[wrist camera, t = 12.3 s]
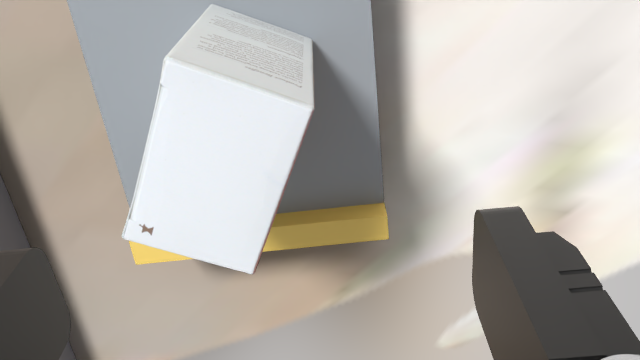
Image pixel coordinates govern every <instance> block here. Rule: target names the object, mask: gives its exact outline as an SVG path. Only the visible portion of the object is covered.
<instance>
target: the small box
mask: <svg viewBox="0 0 640 360" xmlns="http://www.w3.org/2000/svg"><path fill="white" fill-rule="evenodd" d="M312 45H313V41H312V39H310V38H308V37H305V36H302V35H299V34H297V33H294V32H291V31H289V30H286V29H283V28H280V27H278V26H275V25H272V24H269V23H266V22H263V21H260V20H258V19H255V18H252V17H249V16H246V15H243V14H241V13H238V12H235V11H232V10H229V9H226V8H223V7H220V6H217V5H214V4H211V5H210V6H209V7H208V8H207V9H206V10H205V12H204V13H203V14H202V15H201V16H200V17H199V19H198V20H197V21H196V22H195V23H194V24H193V25H192V26H191V28H190V29H189V30H188V31H187V32H186V33H185V34H184V36H183V37H182V38H181V39H180V40H179V42H178V43H177V44H176V45H175V46H174V47H173V48H172V49H171V51H170V52H169V53H168V54H167V55H166V56H165V58H164V60H163V66H162V72H161V78H160V84H159V89H158V94H157V99H156V103H155V108H154V112H153V117H152V121H151V125H150V129H149V133H148V137H147V142H146V146H145V150H144V155H143V159H142V163H141V167H140V171H139V175H138V179H137V183H136V188H135V192H134V196H133V200H132V203H131V207H130V210H129V214H128V217H127V220H126V224H125V227H124V230H123V233H122V238H123V239H126V240H129V241H132V242H136V243H140V244H143V245H146V246H150V247H154V248H157V249H161V250H164V251H168V252H172V253H175V254H179V255H183V256H186V257H190V258H193V259H197V260H201V261H204V262H208V263H211V264H215V265H219V266H222V267H226V268H230V269H233V270H237V271H242V272H245V273H248V274H254V273H255V271H256V268H257V265H258V262H259V260H260V257H261V254H262V251H263V248H264V246H265V243H266V240H267V238H268V235H269V232H270V230H271V227H272V224H273V221H274V219H275V216H276V213H277V211H278V208H279V205H280V202H281V199H282V197H283V194H284V191H285V189H286V186H287V183H288V180H289V178H290V175H291V172H292V169H293V167H294V164H295V161H296V158H297V156H298V153H299V150H300V147H301V145H302V142H303V139H304V137H305V134H306V131H307V128H308V126H309V123H310V120H311V117H312V114H313V112H314V109H315V103H314V74H313V46H312Z"/></svg>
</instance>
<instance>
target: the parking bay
mask: <svg viewBox="0 0 640 360" xmlns="http://www.w3.org/2000/svg"><path fill="white" fill-rule="evenodd" d="M25 248H30V245H29V243H28V240H27V238H26V235H25V233H24V231H23V228H22V226H21V223H20V221H19V218H18V216H17V213H16V211H15V209H14V206H13V204H12V201H11V199H10V196H9V194H8V191H7V189H6V187H5V184H4V182H3V179H2V177H1V174H0V251H3V250H14V249H25ZM59 360H76V358H75V355H74V353H73V350H72V348H71V345H70V343H69V341H68V342H67V345H66V347H65V349H64V351H63V352H62V354H61V356H60V358H59Z"/></svg>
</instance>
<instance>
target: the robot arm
mask: <svg viewBox="0 0 640 360" xmlns="http://www.w3.org/2000/svg"><path fill="white" fill-rule="evenodd" d="M472 285H473V294H474V301H475V306H476V310H477V313H478V316H479V319H480V322H481V325H482V327H483V330H484V333H485V336H486V339H487V341H488V344H489V347H490V350H491V353H492V356H493V358H494V360H640V341H639V340H638V338H637V337H636V335H635V334H634V332H633V331H632V329H631V328H630V327H629V325H628V323H627V322H626V320H625V319H624V317H623V316H622V314H621V313H620V311H619V310H618V308H617V307H616V305H615V304H614V302H613V301H612V299H611V298H610V296H609V295H608V293H607V292H606V291H605V290H603V289H602V284H601V283H600V281H599V280H598V278H597V277H596V275H595V274H594V273H591V268H590V266H589V265H588V263H587V262H586V260H585V259H584V257H583V256H582V255H581V253H580V252H579V250H578V249H577V248H576V247H575V246H574V245H572V244H571V243H569V242H568V241H566V240H565V239H563V238H562V237H561V236H559V235H558V234H556V233H555V232H542V233H536V232H535V231H534V229H533V227H532V225H531V224H530V222H529V220H528V219H527V217H526V215H525V213H524V212H523V210H522V209H521V208H520V207H518V206H517V207H506V208H494V209H483V210H477V211H476V213H475V217H474V237H473V269H472ZM70 327H71V323H70V314H69V310H68V308H67V305H66V303H65V300H64V298H63V295H62V293H61V291H60V288H59V286H58V283H57V281H56V278H55V276H54V273H53V271H52V269H51V266H50V264H49V261H48V259H47V257H46V255H45V253H44V252H43V251H42V250H41V249H39V248H25V249H14V250H3V251H0V360H59V358H60V356H61V354H62V352H63V351H64V349H65V347H66V345H67V342H68V339H69V335H70Z"/></svg>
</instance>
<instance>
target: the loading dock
mask: <svg viewBox="0 0 640 360" xmlns="http://www.w3.org/2000/svg"><path fill="white" fill-rule="evenodd" d="M67 2H68V6H69V9H70V12H71V15H72V19H73V22H74V25H75V29H76V32H77V35H78V39H79V42H80V45H81V49H82V52H83V55H84V58H85V62H86V65H87V68H88V72H89V75H90V78H91V82H92V85H93V88H94V92H95V95H96V98H97V101H98V105H99V108H100V111H101V115H102V118H103V121H104V125H105V128H106V131H107V135H108V138H109V141H110V144H111V148H112V151H113V154H114V158H115V161H116V164H117V168H118V171H119V174H120V178H121V181H122V184H123V187H124V191H125V194H126V197H127V201H128V204H129V207H131V203H132V200H133V196H134V192H135V188H136V183H137V179H138V175H139V171H140V167H141V163H142V159H143V155H144V150H145V146H146V142H147V137H148V133H149V129H150V125H151V121H152V117H153V112H154V108H155V103H156V99H157V94H158V89H159V84H160V78H161V72H162V66H163V60H164V58H165V56H166V55H167V54H168V53H169V52H170V51H171V49H172V48H173V47H174V46H175V45H176V44H177V43H178V42H179V40H180V39H181V38H182V37H183V36H184V34H185V33H186V32H187V31H188V30H189V29H190V28H191V26H192V25H193V24H194V23H195V22H196V21H197V20H198V19H199V17H200V16H201V15H202V14H203V13H204V12H205V10H206V9H207V8H208V7H209V6H210V5H211V4H214V5H217V6H220V7H223V8H226V9H229V10H232V11H235V12H238V13H241V14H243V15H246V16H249V17H252V18H255V19H258V20H260V21H263V22H266V23H269V24H272V25H275V26H278V27H280V28H283V29H286V30H289V31H291V32H294V33H297V34H299V35H302V36H305V37H308V38H310V39H312V41H313V45H312V46H313V74H314V103H315V109H314V112H313V114H312V117H311V120H310V123H309V126H308V128H307V131H306V134H305V137H304V139H303V142H302V145H301V147H300V150H299V153H298V156H297V158H296V161H295V164H294V167H293V169H292V172H291V175H290V178H289V180H288V183H287V186H286V189H285V191H284V194H283V197H282V199H281V202H280V205H279V208H278V211H277V213H276V216H275V219H274V221H273V224H272V227H271V230H270V232H269V235H268V238H267V240H266V243H265V246H264V248H263V251H262V252H266V251H276V250H286V249H295V248H305V247H315V246H325V245H335V244H345V243H355V242H365V241H375V240H385V239H389V235H388V219H387V212H386V208H385V204H384V192H383V177H382V162H381V147H380V132H379V117H378V102H377V87H376V72H375V57H374V42H373V28H372V13H371V0H67ZM129 244H130V247H131V250H132V253H133V257H134V260H135V263H136V265H137V264H147V263H157V262H167V261H177V260H186V259H193V258H190V257H186V256H183V255H179V254H175V253H172V252H168V251H164V250H161V249H157V248H154V247H150V246H146V245H143V244H140V243H136V242H132V241H129Z"/></svg>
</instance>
